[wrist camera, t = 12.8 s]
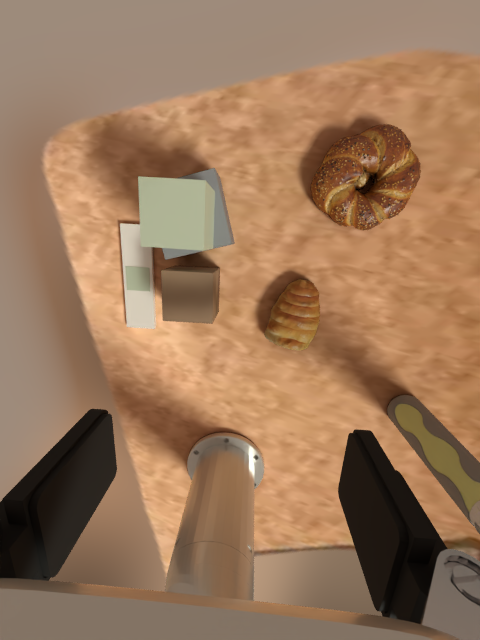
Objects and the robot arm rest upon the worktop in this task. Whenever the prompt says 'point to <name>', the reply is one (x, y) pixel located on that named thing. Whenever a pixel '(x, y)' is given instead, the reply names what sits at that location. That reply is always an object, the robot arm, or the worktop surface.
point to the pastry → (295, 316)
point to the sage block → (176, 213)
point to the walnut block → (190, 294)
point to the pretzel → (366, 177)
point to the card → (138, 278)
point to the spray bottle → (440, 453)
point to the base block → (221, 217)
